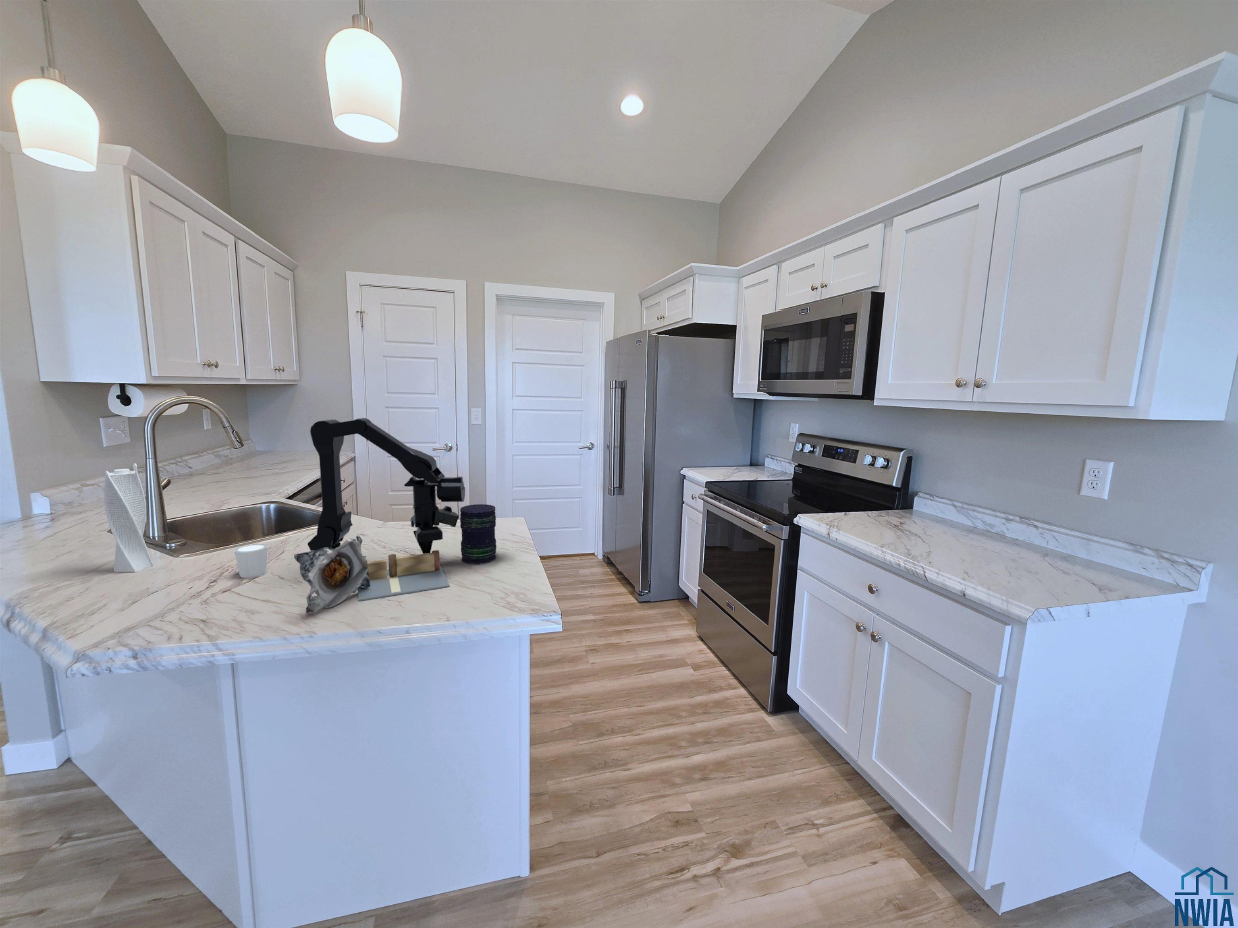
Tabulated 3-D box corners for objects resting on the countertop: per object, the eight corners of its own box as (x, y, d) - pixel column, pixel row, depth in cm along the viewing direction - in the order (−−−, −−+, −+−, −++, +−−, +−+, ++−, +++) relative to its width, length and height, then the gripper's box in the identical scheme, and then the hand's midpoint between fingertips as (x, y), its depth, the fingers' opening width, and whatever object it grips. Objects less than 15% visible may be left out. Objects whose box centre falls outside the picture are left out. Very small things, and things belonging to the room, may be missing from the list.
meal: (357, 585, 122) (351, 534, 120) (371, 588, 121) (365, 535, 119) (300, 612, 108) (293, 555, 106) (315, 615, 107) (308, 557, 105)
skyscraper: (162, 563, 136) (150, 461, 132) (137, 573, 128) (123, 465, 124) (132, 563, 135) (119, 461, 131) (105, 573, 128) (90, 465, 124)
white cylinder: (275, 571, 132) (273, 546, 131) (247, 580, 125) (244, 553, 124) (259, 567, 134) (257, 542, 133) (230, 575, 128) (228, 549, 127)
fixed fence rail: (360, 582, 125) (359, 563, 124) (360, 579, 126) (359, 560, 125) (387, 578, 127) (386, 559, 127) (387, 576, 129) (386, 557, 128)
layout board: (358, 601, 115) (358, 599, 115) (358, 574, 130) (357, 573, 130) (449, 586, 124) (449, 585, 124) (438, 563, 140) (438, 562, 140)
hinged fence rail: (389, 577, 128) (388, 556, 127) (389, 574, 129) (388, 554, 128) (440, 569, 133) (439, 550, 132) (439, 567, 135) (438, 548, 134)
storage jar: (475, 567, 138) (474, 514, 136) (453, 559, 144) (452, 508, 141) (503, 557, 146) (503, 507, 143) (482, 550, 151) (481, 502, 149)
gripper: (462, 506, 131) (463, 563, 133) (450, 493, 147) (451, 544, 150) (416, 510, 126) (418, 570, 128) (409, 496, 142) (411, 549, 145)
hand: (427, 557), depth 138 cm, fingers closed
